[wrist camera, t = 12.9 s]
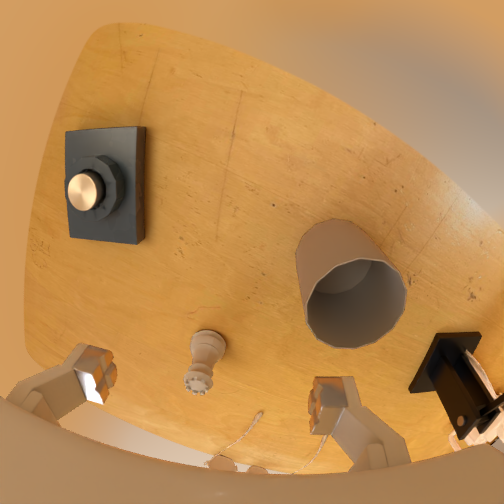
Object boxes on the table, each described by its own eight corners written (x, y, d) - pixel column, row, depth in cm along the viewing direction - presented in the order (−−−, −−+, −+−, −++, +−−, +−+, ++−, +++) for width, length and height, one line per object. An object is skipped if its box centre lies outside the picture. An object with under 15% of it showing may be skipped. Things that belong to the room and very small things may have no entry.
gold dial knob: (76, 171, 25) (66, 174, 24) (105, 170, 25) (96, 173, 24) (78, 205, 27) (68, 210, 25) (106, 207, 27) (97, 211, 25)
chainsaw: (473, 330, 34) (522, 376, 22) (505, 398, 43) (531, 429, 31) (402, 399, 37) (436, 458, 25) (458, 442, 46) (480, 477, 34)
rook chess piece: (200, 322, 35) (184, 366, 28) (232, 338, 36) (224, 385, 28) (186, 345, 37) (170, 389, 29) (217, 360, 37) (207, 405, 30)
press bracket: (436, 332, 34) (480, 403, 21) (478, 331, 34) (523, 390, 21) (408, 388, 38) (435, 457, 26) (449, 383, 38) (480, 443, 25)
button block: (76, 130, 27) (55, 132, 23) (146, 126, 27) (129, 126, 23) (79, 231, 32) (61, 243, 28) (145, 237, 31) (130, 251, 28)
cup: (339, 202, 29) (370, 234, 20) (385, 257, 31) (423, 304, 21) (278, 257, 31) (282, 309, 22) (328, 304, 33) (345, 364, 24)
